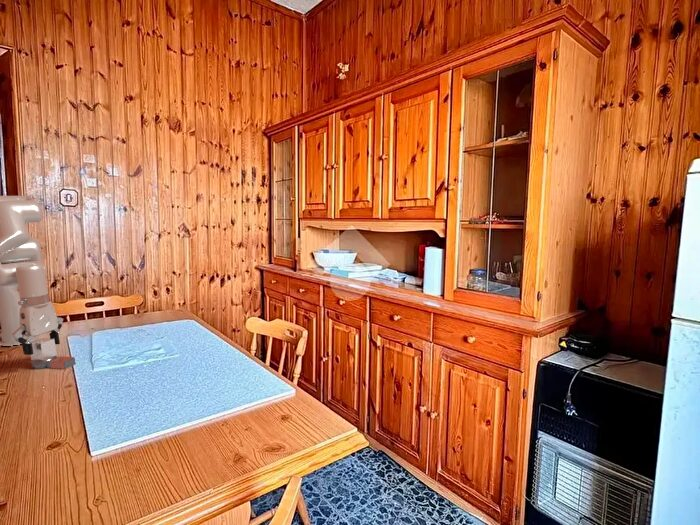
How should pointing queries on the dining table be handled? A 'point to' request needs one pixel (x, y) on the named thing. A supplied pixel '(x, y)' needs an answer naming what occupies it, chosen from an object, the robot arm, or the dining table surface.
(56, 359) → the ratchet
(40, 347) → the brushed aluminum cube
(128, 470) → the dining table surface
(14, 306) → the robot arm
